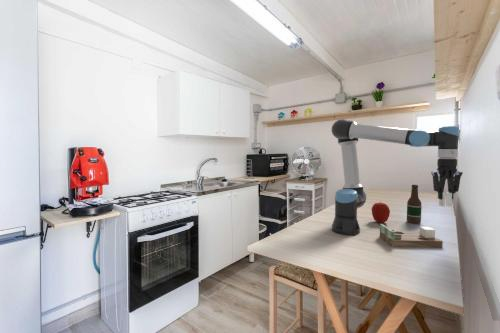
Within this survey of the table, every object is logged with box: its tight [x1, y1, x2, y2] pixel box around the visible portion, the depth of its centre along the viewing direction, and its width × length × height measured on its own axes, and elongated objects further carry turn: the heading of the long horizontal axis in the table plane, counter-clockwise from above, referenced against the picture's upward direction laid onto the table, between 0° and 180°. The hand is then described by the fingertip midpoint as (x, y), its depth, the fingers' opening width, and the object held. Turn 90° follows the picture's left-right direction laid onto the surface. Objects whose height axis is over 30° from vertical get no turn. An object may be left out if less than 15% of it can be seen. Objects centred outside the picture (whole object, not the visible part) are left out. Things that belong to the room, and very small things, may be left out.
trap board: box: [379, 223, 444, 248], centre depth 122 cm, size 13×23×7 cm, turn 86°
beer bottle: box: [406, 184, 423, 225], centre depth 153 cm, size 8×8×24 cm
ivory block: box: [419, 226, 436, 238], centre depth 121 cm, size 4×4×4 cm
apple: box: [371, 202, 391, 224], centre depth 154 cm, size 10×10×14 cm
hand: (445, 205), depth 120 cm, fingers open, 3 cm apart
